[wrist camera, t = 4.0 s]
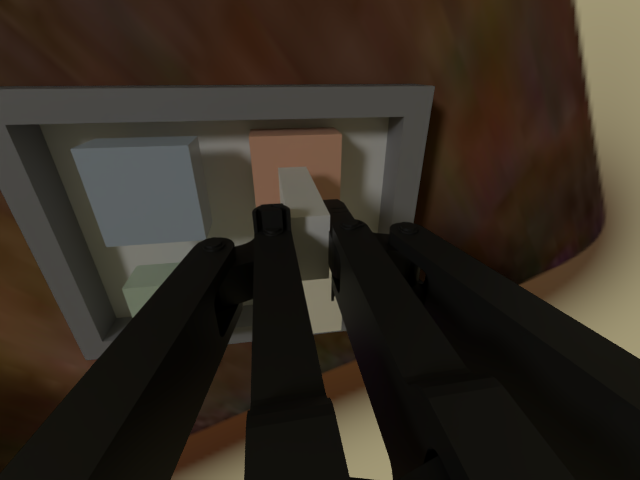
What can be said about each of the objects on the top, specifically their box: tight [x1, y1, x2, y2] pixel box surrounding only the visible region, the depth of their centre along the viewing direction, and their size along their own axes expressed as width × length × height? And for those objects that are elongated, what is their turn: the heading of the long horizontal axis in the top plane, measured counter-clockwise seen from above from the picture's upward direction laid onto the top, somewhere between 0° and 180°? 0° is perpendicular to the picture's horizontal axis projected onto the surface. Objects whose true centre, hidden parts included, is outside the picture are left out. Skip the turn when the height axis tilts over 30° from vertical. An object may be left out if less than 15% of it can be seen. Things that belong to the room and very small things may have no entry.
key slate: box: [70, 136, 213, 247], centre depth 17 cm, size 5×5×2 cm
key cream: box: [302, 267, 342, 334], centre depth 22 cm, size 5×5×2 cm
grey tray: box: [0, 84, 435, 360], centre depth 22 cm, size 24×18×3 cm
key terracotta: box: [249, 127, 342, 207], centre depth 20 cm, size 5×5×2 cm
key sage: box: [122, 262, 180, 318], centre depth 21 cm, size 5×5×2 cm
